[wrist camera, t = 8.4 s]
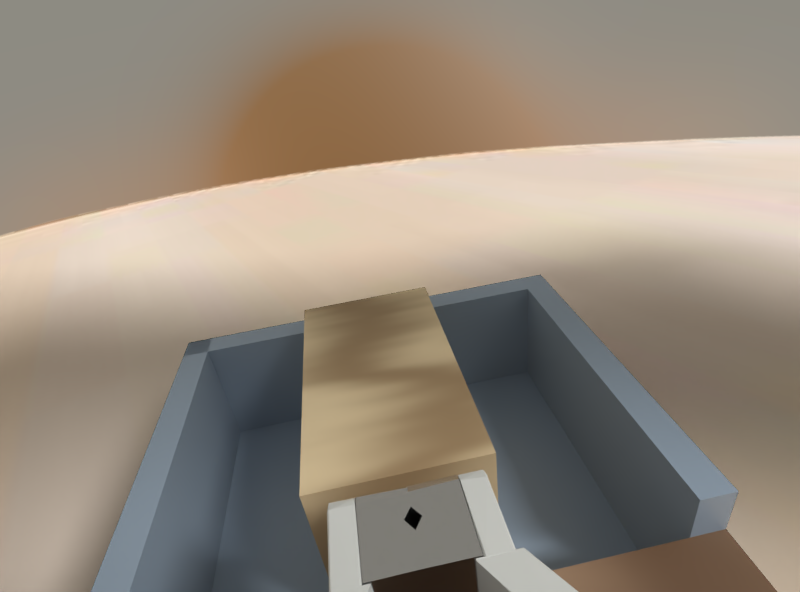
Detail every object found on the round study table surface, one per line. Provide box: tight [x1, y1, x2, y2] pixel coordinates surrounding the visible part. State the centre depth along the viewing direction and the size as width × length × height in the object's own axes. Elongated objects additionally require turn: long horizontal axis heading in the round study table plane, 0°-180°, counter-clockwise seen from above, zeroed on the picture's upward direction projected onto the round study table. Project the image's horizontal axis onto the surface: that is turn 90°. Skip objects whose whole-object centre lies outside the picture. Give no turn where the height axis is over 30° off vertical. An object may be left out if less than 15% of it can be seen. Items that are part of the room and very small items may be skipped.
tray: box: [91, 275, 738, 592], centre depth 18 cm, size 16×12×6 cm
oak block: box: [299, 287, 498, 577], centre depth 17 cm, size 5×6×9 cm
